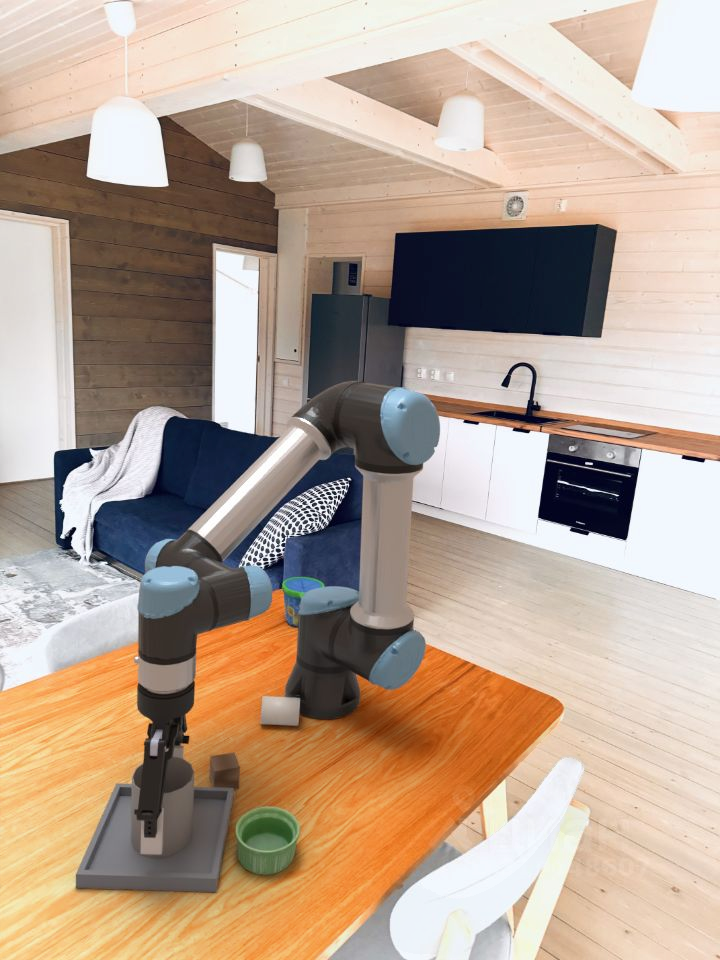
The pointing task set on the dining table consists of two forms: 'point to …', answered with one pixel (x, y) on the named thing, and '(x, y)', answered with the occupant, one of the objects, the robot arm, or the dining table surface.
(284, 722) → the canister
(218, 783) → the walnut block
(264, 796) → the dining table surface
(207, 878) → the tray
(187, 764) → the cup
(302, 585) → the snack cup
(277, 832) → the ramekin
